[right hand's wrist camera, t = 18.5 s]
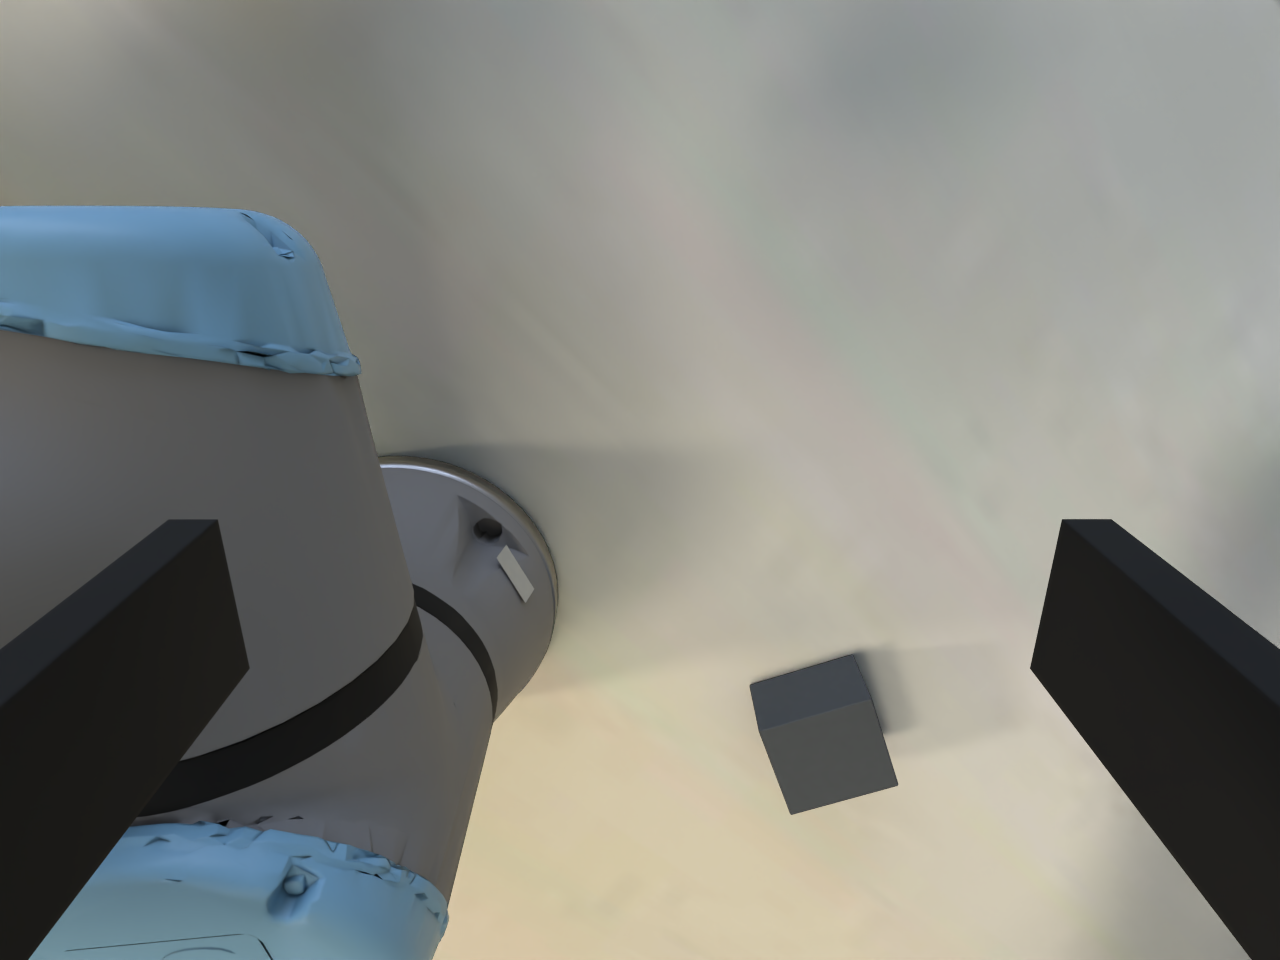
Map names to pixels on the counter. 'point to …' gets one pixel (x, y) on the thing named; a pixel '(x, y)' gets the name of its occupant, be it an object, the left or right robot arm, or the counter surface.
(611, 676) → the counter surface
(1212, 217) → the counter surface
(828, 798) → the grey block
